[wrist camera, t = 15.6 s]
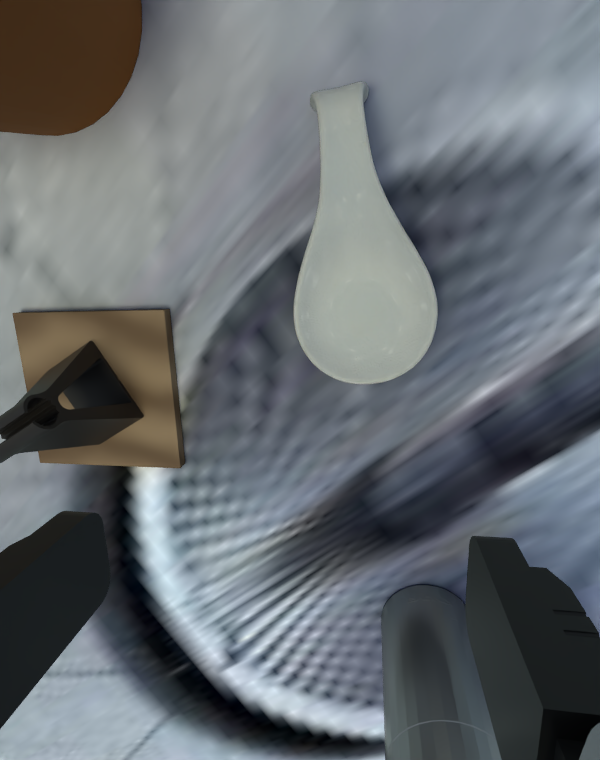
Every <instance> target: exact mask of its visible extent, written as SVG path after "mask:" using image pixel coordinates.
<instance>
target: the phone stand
mask: <svg viewBox="0 0 600 760" xmlns="http://www.w3.org/2000/svg"><path fill="white" fill-rule="evenodd" d="M62 392H63V393H64V394H65V396H66V397H67V399H68V400H69V402H70V403H71V404H72V406H73V407H74V409H66V408H64V407H63V406H61V404H60V403H59V400H58V397H59V395H60V394H61V393H62ZM143 417H144V415H143V413H142V412H141V410H140V409H139V407H138V406H137V404H136V403H135V402H134V400H133V399H132V397H131V396H130V394H129V393H128V391H127V390H126V388H125V387H124V385H123V384H122V383H121V381H119V380H118V377H117V375H116V374H115V372H114V371H113V369H112V368H111V367H110V365H109V364H108V362H107V361H106V359H105V358H104V356H103V355H102V353H101V352H100V350H99V349H98V348H97V346H96V345H95V343H94V342H93V341H89V342H88V343H86V344H85V345H84V346H82V347H81V348H79V349H78V350H76V351H75V352H74V353H72V354H71V355H69V356H68V357H67V358H65V359H64V360H62V361H61V362H60V363H58V364H57V365H55V366H54V367H53V368H51V369H50V370H48V371H47V372H46V373H45V374H44V375H43V376H42V377H41V378H40V379H39V381H38V382H37V383H36V384H35V385H34V386H33V387H32V388H31V389H30V390H29V391H28V392H27V393H26V394H25V395H24V397H23V398H22V399H21V400H20V401H19V402H18V403H17V404H16V405H15V406H14V407H13V408H11V409H10V410H8V411H7V412H5V413H4V414H3V415H1V416H0V434H1V437H2V439H6V440H5V441H4V442H2V443H1V444H0V463H2V462H4V461H5V460H7V459H8V458H10V457H11V456H13V455H15V454H18V453H24V452H33V451H43V450H53V449H62V448H72V447H81V446H91V445H100V444H101V443H103V442H104V441H106V440H108V439H109V438H111V437H113V436H114V435H116V434H117V433H119V432H121V431H122V430H124V429H125V428H127V427H129V426H130V425H132V424H133V423H135V422H137V421H138V420H140V419H142V418H143Z"/></svg>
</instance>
